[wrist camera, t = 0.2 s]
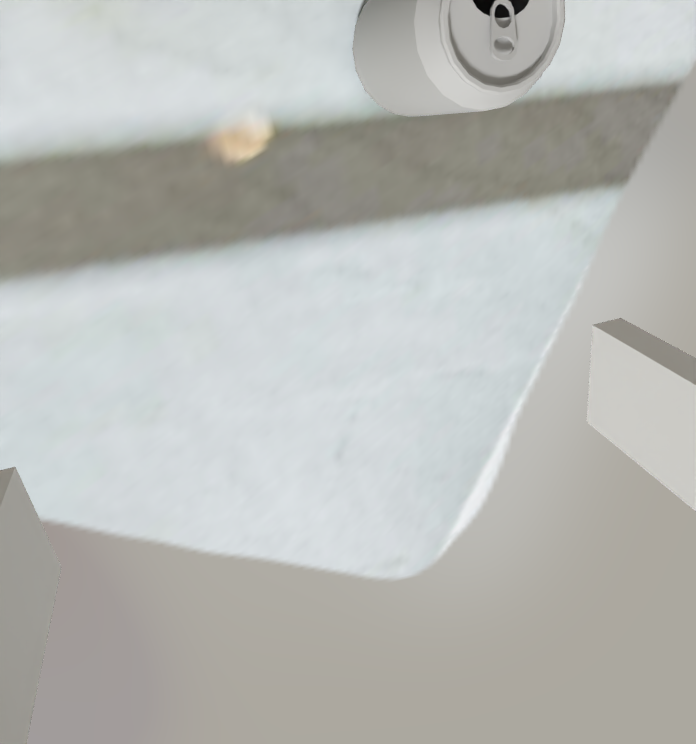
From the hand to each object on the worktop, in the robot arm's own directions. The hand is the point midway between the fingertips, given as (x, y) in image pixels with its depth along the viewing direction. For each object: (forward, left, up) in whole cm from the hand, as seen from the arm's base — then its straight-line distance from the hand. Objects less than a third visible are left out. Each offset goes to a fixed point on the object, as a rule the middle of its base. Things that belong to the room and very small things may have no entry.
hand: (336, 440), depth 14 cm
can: (-9, +14, -28) cm, 33 cm away
